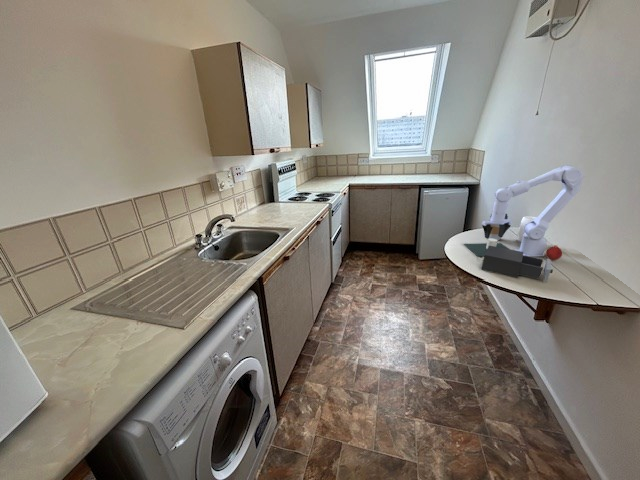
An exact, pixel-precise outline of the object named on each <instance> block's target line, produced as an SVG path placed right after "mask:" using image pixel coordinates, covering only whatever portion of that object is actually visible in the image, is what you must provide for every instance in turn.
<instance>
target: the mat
mask: <svg viewBox="0 0 640 480" xmlns="http://www.w3.org/2000/svg"><path fill="white" fill-rule="evenodd" d="M463 246H465V247H466V248H467V249H468V250H470V251H471V252H472V253H473V254H474V255H475V256H477V257H478V258H484V255H485V253H486V251H487V248H486V246H487V242H486V243H485V242H484V243H463ZM496 247H500V248H505V249H510V248H509V247H507V246H506V245H504V244H502V243H501V242H497V246H496Z"/></svg>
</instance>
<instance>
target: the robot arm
mask: <svg viewBox="0 0 640 480" xmlns="http://www.w3.org/2000/svg"><path fill="white" fill-rule="evenodd" d="M584 178H585V176H584V173H583V170H582V169H580V168H578V167H574V166H573V165H568V164H566V165H562V166H560V167H555V168H554V169H552V170H550V171H547V172H545V173H543V174H540V175H538V176H536V177H534V178H532V179H529V180H517V181H516V183H513V184H511V185H509V186H508V185H506V186H504V187H500V188H498V189H497V190H496V191H495V192H494V196H495V199H494V202H493V207H492V212H491V214H492V216H491V215H490V216H491V220H490V219H487V220H482V223H481V226H482V229H483V232H484V233H483V234H484V238H485V239H487V240H488V239H489V236H490V233H491V230H492V229H493V227H491V226H490V225H496V224H499V233H498V236H499V237H501V239H502V238H503V237H504V235H505V233H506V232H507V231H508V230H509V229H510V228H511V224H512V221H513V220H512V219H509V218H508V219H505V214H507V209H508V205H509V201H510V200H511V198H514V197H517V196H520V195H522V194H525V193H528V192H529V191H530V189H531V188H533V187H536V186H539V185H542V184H546V183H548V182H551V181H554V182H555V181H556V182H561V186H562V189H561V190H560V192H559V193H558V194H557V195H556V196H555V197H554V199H553V200H551V202H549V204H548V205H547V206H546V207H545V208H544V210H543V211H541V213H540V214H539V215H538V216H536V217H537V218H534V219H533V220H532V221H531V222H529V223H527V224H526V225H525V226H524V230H525V234H524V235H523V239H522V242H520V247H519V248H517V249H516V248H515V249H514V250H516V251H521V252H523V255H524V256H530V257H545V254H544V253H545V251H546V247H547V240H546V238H545V234H546V231H547V230H548V229H549V224H550V223H551V222H552V221H553V220H554V219H555V218H556V217H557V216H558V214H559V213H560V212H561V211H562V210H563V209H565V207H566V206H567V205H568V204H569V203H570V202H571V201H572V200H573V199H574V197H576V195H577V194H578V193H579V192H580V191H581V188H582V187H581V186H582V182H583V179H584Z"/></svg>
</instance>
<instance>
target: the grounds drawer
mask: <svg viewBox="0 0 640 480" xmlns="http://www.w3.org/2000/svg"><path fill="white" fill-rule="evenodd" d="M543 262H544V259H543V258H540V257H536V256H534V257H530V256H524V255H523V258H522V263H521V267H520V270H519V274H518V276H524V277H528V278H532V279H537V280H540V278H541V276H543V277H542V282H544V283H548V280H549V277H550V275H551V274H553V272H554V269H552V260H550V259H549V258H547V259H546V261H545V264H544V267H543V266H542V264H543ZM542 273H543V275H542Z"/></svg>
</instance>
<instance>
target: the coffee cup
mask: <svg viewBox="0 0 640 480" xmlns="http://www.w3.org/2000/svg"><path fill="white" fill-rule="evenodd" d="M491 216H492V213H490V216H489V217H490V218H489V220H491ZM505 219H509V216H508V213H506V214H505ZM490 226H491V227H493V229H492V230H491V233H490V236H489V238H493V239H496V240H498V241H500V240H501V239H502V238H501V237H499V236H498V233H499V224H496V225H490Z"/></svg>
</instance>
